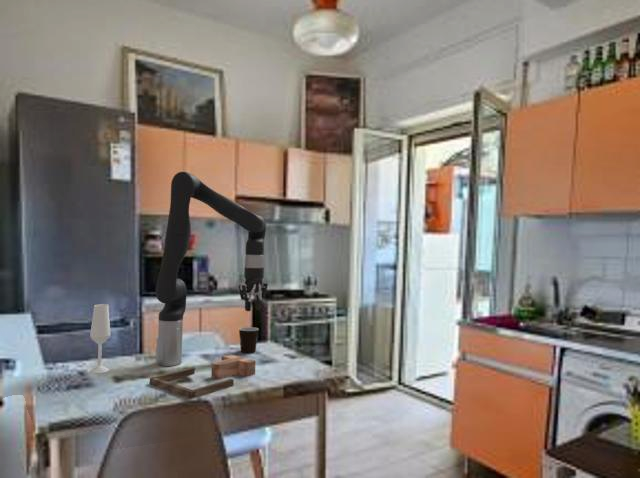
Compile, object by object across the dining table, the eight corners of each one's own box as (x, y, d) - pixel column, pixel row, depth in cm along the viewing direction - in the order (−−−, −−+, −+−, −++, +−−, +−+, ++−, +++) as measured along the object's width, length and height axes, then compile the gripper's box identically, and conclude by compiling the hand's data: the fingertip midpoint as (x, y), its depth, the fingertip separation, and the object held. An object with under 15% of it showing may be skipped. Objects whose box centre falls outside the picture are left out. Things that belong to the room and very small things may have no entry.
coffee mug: (254, 354, 200) (254, 331, 200) (235, 353, 201) (236, 330, 202) (262, 348, 211) (263, 326, 211) (244, 347, 213) (245, 325, 213)
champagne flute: (100, 367, 174) (102, 303, 174) (113, 369, 171) (115, 304, 171) (84, 371, 168) (87, 305, 168) (97, 374, 165) (99, 306, 165)
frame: (149, 383, 156) (149, 377, 156) (191, 372, 170) (192, 367, 170) (191, 398, 143) (191, 392, 143) (233, 385, 157) (233, 379, 157)
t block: (202, 374, 169) (202, 360, 169) (229, 367, 179) (229, 354, 179) (228, 382, 161) (229, 367, 161) (255, 374, 171) (255, 360, 171)
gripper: (260, 265, 187) (258, 307, 187) (233, 266, 176) (232, 311, 176) (273, 266, 183) (272, 309, 183) (247, 267, 171) (246, 313, 171)
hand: (252, 310), depth 179 cm, fingers open, 4 cm apart
